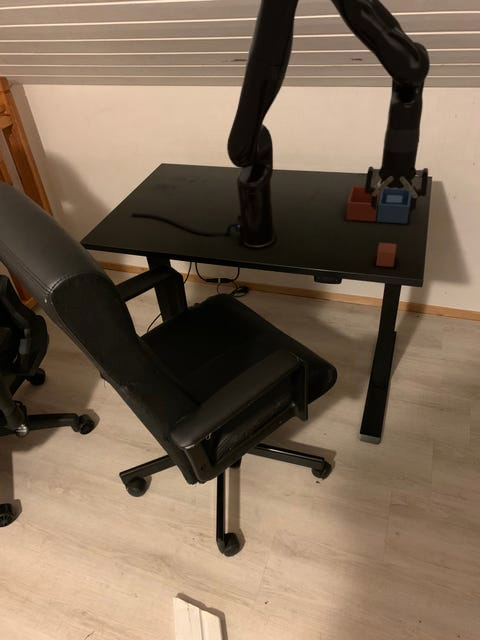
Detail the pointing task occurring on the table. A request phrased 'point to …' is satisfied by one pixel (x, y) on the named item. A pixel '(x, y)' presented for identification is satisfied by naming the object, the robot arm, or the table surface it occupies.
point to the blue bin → (393, 206)
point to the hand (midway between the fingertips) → (392, 209)
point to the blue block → (394, 200)
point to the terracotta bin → (361, 205)
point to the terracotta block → (386, 254)
